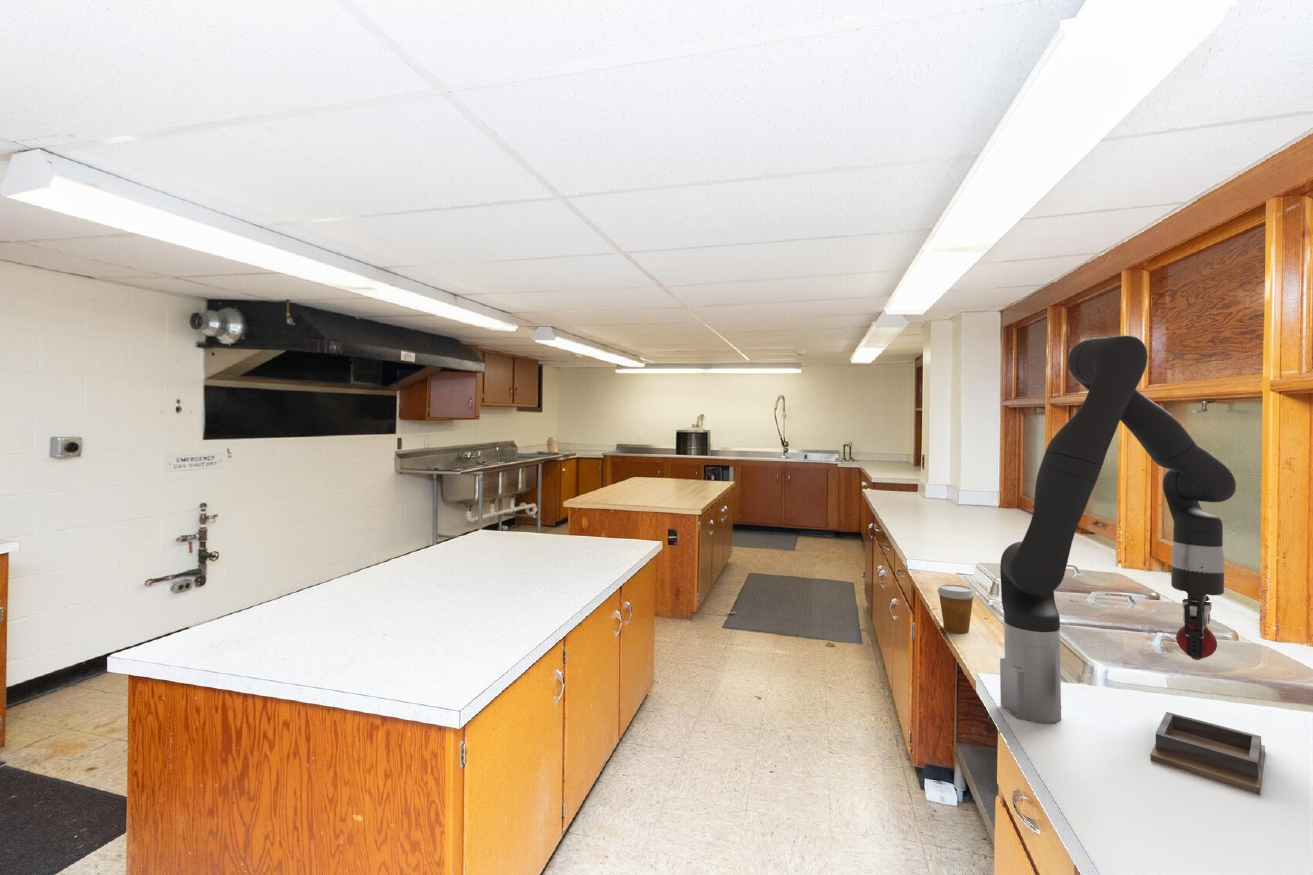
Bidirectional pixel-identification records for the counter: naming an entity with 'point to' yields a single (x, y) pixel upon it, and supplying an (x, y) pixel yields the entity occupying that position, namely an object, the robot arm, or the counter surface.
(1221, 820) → the counter surface
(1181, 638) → the onion
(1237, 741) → the pocket board
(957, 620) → the disposable coffee cup
